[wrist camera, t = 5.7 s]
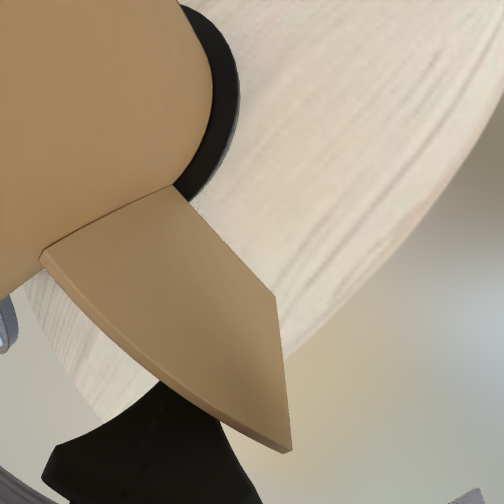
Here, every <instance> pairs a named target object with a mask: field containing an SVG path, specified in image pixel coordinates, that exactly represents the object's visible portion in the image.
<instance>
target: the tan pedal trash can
mask: <svg viewBox="0 0 504 504" xmlns="http://www.w3.org/2000/svg"><path fill="white" fill-rule="evenodd" d="M212 88H213V85H212V76H211V69H210V66H209V62H208V58H207V56H206V54H205V52H204V49H203V47H202V45H201V43H200V42H199V40H198V38H197V36H196V34H195V32H194V31H193V27H192V25H191V24H190V22H189V20H188V18H187V16H186V15H185V13H184V11H183V9H182V8H181V6H180V4H179V2H178V1H177V0H0V301H2V300H3V299H4V298H5V297H6V296H8V295H9V294H10V293H12V292H13V291H14V290H15V289H17V288H18V287H19V286H21V285H22V284H23V283H24V282H26V281H27V280H29V279H30V278H31V277H33V276H34V275H35V274H37V273H38V272H39V271H41V270H42V269H44V268H45V269H46V270H47V272H48V273H49V274H50V275H51V277H52V278H53V279H54V280H55V281H56V283H57V284H58V285H59V286H60V287H61V288H62V290H63V291H64V292H65V293H66V294H67V295H68V296H69V297H70V298H71V300H72V301H73V302H74V303H75V304H76V305H77V306H78V307H79V308H80V309H81V310H82V311H83V312H84V313H85V314H86V315H87V316H88V317H89V318H90V319H91V320H92V321H93V322H94V323H95V324H96V325H97V326H98V327H99V328H100V329H101V330H102V331H103V332H104V333H105V334H106V335H107V336H108V337H109V338H110V339H111V340H112V341H114V342H115V343H116V344H117V345H118V346H119V347H120V348H121V349H123V350H124V351H125V352H126V353H127V354H128V355H129V356H131V357H132V358H133V359H134V360H135V361H137V362H138V363H139V364H140V365H141V366H143V367H144V368H145V369H146V370H148V371H149V372H150V373H151V374H153V375H154V376H155V377H157V378H158V379H159V380H160V381H162V382H163V383H164V384H166V385H167V386H169V387H170V388H171V389H173V390H174V391H175V392H177V393H178V394H180V395H181V396H182V397H184V398H185V399H187V400H188V401H190V402H191V403H193V404H194V405H196V406H197V407H199V408H200V409H202V410H203V411H205V412H207V413H208V414H210V415H211V416H213V417H215V418H216V419H218V420H219V421H221V422H223V423H225V424H226V425H228V426H230V427H231V428H233V429H235V430H237V431H238V432H240V433H242V434H244V435H246V436H248V437H250V438H251V439H253V440H255V441H257V442H259V443H261V444H263V445H265V446H267V447H269V448H271V449H273V450H275V451H277V452H280V453H282V454H285V453H287V452H290V451H292V440H291V429H290V419H289V410H288V401H287V391H286V382H285V373H284V364H283V355H282V347H281V338H280V330H279V322H278V313H277V305H276V297H275V296H274V295H273V293H272V292H271V291H270V290H269V289H268V288H267V287H266V286H265V285H264V284H263V283H262V282H261V281H260V280H259V279H258V277H257V276H256V275H255V274H254V273H253V272H252V271H251V270H250V269H249V268H248V267H247V266H246V265H245V264H244V262H243V261H242V260H241V259H240V258H239V257H238V256H237V255H236V254H235V253H234V252H233V251H232V249H231V248H230V247H229V246H228V245H227V244H226V243H225V242H224V241H223V240H222V239H221V238H220V236H219V235H218V234H217V233H216V232H215V231H214V230H213V229H212V228H211V227H210V226H209V225H208V223H207V222H206V221H205V220H204V219H203V218H202V217H201V216H200V215H199V214H198V212H197V211H196V210H195V209H194V208H193V207H192V206H191V205H190V204H189V203H188V202H187V200H186V199H185V198H184V197H183V196H182V195H181V194H180V193H179V192H178V190H177V189H176V188H175V187H174V186H173V185H172V184H173V183H174V182H175V181H176V180H177V179H178V177H179V176H180V175H181V174H182V173H183V171H184V170H185V168H186V167H187V166H188V164H189V163H190V161H191V160H192V158H193V156H194V154H195V153H196V151H197V149H198V147H199V145H200V142H201V140H202V138H203V135H204V133H205V130H206V127H207V123H208V120H209V116H210V110H211V104H212Z"/></svg>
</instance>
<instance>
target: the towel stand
mask: <svg viewBox="0 0 504 504" xmlns="http://www.w3.org/2000/svg"><path fill="white" fill-rule="evenodd" d="M180 6H181V8H182V9H183V11H184V13H185V15H186V16H187V18H188V20H189V22H190V24H191V25H192V27H193V31H194V32H195V34H196V36H197V38H198V40H199V42H200V43H201V45H202V47H203V49H204V52H205V54H206V56H207V58H208V62H209V66H210V69H211V76H212V85H213V88H212V104H211V110H210V116H209V120H208V123H207V127H206V130H205V133H204V135H203V138H202V140H201V142H200V145H199V147H198V149H197V151H196V153H195V154H194V156H193V158H192V160H191V161H190V163H189V164H188V166H187V167H186V168H185V170H184V171H183V173H182V174H181V175H180V176H179V177H178V179H177V180H176V181H175V182H174V183H173V184H172V185H173V186H174V187H175V188H176V189H177V190H178V192H179V193H180V194H181V195H182V196H183V197H184V198H185V199H186V200H187V202H188V203H189V202H190V201H191V200H193V199H194V198H195V197H196V196H197V195H198V194H199V193H200V192H201V191H202V190H203V188H204V187H205V186H206V185H207V184H208V183H209V181H210V180H211V179H212V177H213V176H214V174H215V173H216V171H217V170H218V168H219V167H220V165H221V164H222V162H223V160H224V158H225V156H226V154H227V152H228V150H229V147H230V145H231V142H232V139H233V136H234V134H235V130H236V125H237V121H238V117H239V108H240V82H239V77H238V72H237V68H236V63H235V60H234V57H233V55H232V52H231V49H230V47H229V45H228V43H227V42H226V40H225V38H224V37H223V35H222V33H221V32H220V31H219V30H218V29H217V28H216V27H215V25H214V24H213V23H212V22H211V21H209V20H208V19H207V18H206V17H204V16H203V15H202V14H200V13H199V12H197V11H195V10H193V9H191V8H189V7H187V6H184V5H181V4H180Z"/></svg>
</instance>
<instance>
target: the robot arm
mask: <svg viewBox="0 0 504 504" xmlns="http://www.w3.org/2000/svg"><path fill="white" fill-rule="evenodd" d="M2 345H3V341H2V339H1V337H0V346H2ZM41 478H42V481H43V482H44V483H45V484H46V485H48V486H49V487H50V488H52V489H53V490H54V491H56V492H57V493H59V494H60V495H61V496H63V497H64V498H66V499H67V500H69V501H70V503H69V504H263V503H262V501H261V499H260V497H259V495H258V493H257V491H256V489H255V487H254V485H253V484H252V482H251V481H250V479H249V478H248V476H247V474H246V473H245V471H244V470H243V468H242V467H241V465H240V463H239V461H238V459H237V457H236V456H235V454H234V452H233V450H232V448H231V446H230V444H229V442H228V440H227V437H226V436H225V433H224V431H223V429H222V426H221V424H220V421H219V420H218V419H216V418H215V417H213V416H211V415H210V414H208V413H207V412H205V411H203V410H202V409H200V408H199V407H197V406H196V405H194V404H193V403H191V402H190V401H188V400H187V399H185V398H184V397H182V396H181V395H180V394H178V393H177V392H175V391H174V390H173V389H171V388H170V387H169V386H167V385H166V384H164V383H163V382H162V381H159V382H158V383H157V384H156V385H155V386H154V387H153V388H152V389H150V390H149V391H148V392H147V393H146V394H145V395H144V396H143V397H141V398H140V399H139V400H138V401H137V402H135V403H134V404H133V405H132V406H130V407H129V408H128V409H126V410H125V411H123V412H122V413H121V414H119V415H118V416H116V417H115V418H113V419H112V420H110V421H108V422H107V423H105V424H103V425H101V426H100V427H98V428H96V429H94V430H92V431H91V432H89V433H87V434H85V435H83V436H80V437H78V438H75V439H73V440H70V441H68V442H65V443H63V444H60V445H57V446H56V447H55V448H54V450H53V452H52V454H51V456H50V458H49V460H48V462H47V464H46V467H45V469H44V471H43V474H42V476H41ZM0 504H58V503H56V502H54V501H52V500H50V499H49V498H47V497H45V496H44V495H42V494H40V493H39V492H37V491H36V490H34V489H32V488H31V487H29V486H28V485H26V484H25V483H23V482H22V481H20V480H19V479H17V478H16V477H14V476H13V475H12V474H10V473H9V472H8V471H6V470H5V469H4V468H2V467H1V466H0ZM448 504H485V502H484V499H483V497H482V494H481V491H480V489H479V487H476V488H474V489H472V490H471V491H469V492H467V493H466V494H464V495H462V496H461V497H459V498H457V499H455V500H454V501H452V502H450V503H448Z"/></svg>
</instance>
